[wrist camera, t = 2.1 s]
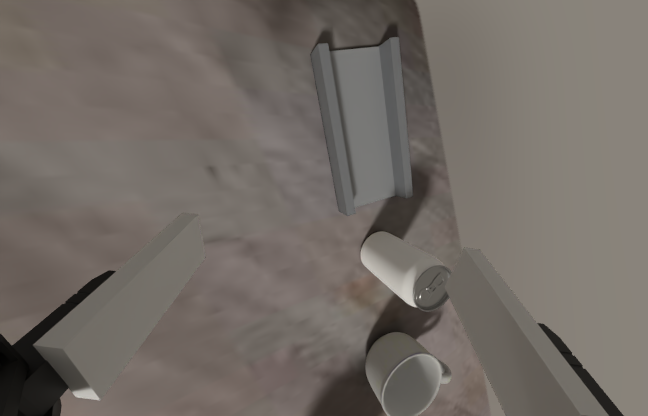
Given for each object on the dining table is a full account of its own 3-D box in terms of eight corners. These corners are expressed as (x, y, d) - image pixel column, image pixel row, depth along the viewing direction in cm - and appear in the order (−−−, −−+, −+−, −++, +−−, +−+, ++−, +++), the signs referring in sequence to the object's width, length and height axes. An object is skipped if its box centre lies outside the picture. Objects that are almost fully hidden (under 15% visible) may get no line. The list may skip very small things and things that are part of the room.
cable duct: (310, 54, 29) (317, 43, 26) (384, 47, 32) (398, 36, 29) (338, 211, 35) (347, 216, 32) (400, 193, 37) (413, 196, 35)
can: (351, 251, 37) (400, 293, 25) (381, 221, 37) (441, 250, 26) (374, 277, 39) (427, 325, 28) (401, 249, 40) (465, 285, 29)
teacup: (348, 375, 41) (372, 423, 34) (370, 318, 40) (400, 354, 33) (409, 376, 47) (442, 418, 39) (430, 326, 46) (467, 359, 38)
